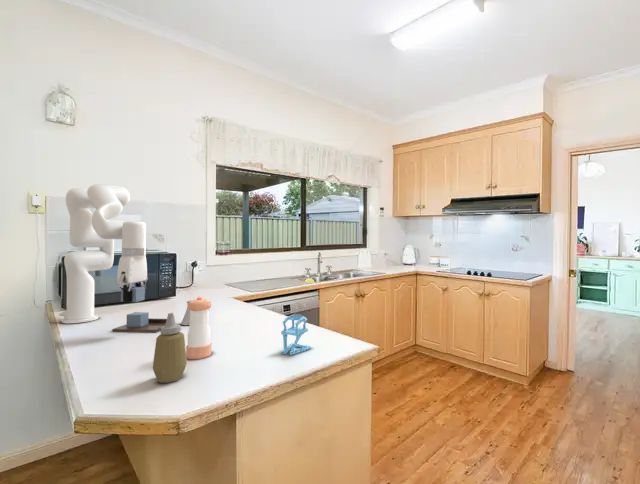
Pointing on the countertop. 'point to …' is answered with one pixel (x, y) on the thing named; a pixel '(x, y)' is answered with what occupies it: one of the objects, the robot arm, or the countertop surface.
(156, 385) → the countertop surface
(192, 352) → the pepper shaker
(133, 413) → the countertop surface
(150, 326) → the backing board
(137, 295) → the pad
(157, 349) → the squeeze bottle
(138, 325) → the pad
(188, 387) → the countertop surface
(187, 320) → the flask
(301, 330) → the chair
